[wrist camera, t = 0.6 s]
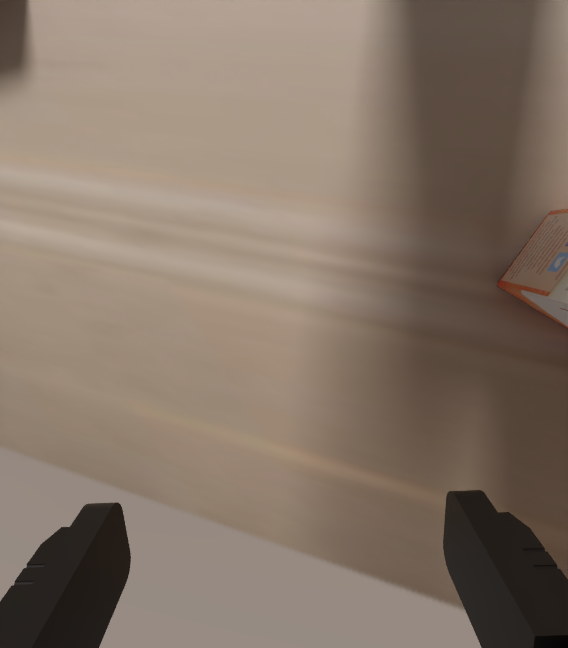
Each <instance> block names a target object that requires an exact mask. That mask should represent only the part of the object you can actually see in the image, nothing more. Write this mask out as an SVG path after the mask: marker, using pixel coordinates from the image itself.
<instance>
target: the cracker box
mask: <svg viewBox="0 0 568 648" xmlns="http://www.w3.org/2000/svg"><path fill="white" fill-rule="evenodd" d="M497 286H498V287H500V288H502V289H504V290H505V291H507V292H509V293H510V294H512V295H514V296H515V297H517V298H519V299H520V300H522V301H523V302H525V303H527V304H528V305H530V306H532V307H533V308H535V309H536V310H538V311H540V312H541V313H543V314H545V315H546V316H548V317H550V318H551V319H553V320H554V321H556V322H558V323H559V324H561V325H563V326H564V327H566V328H568V209H563V210H557V211H551V212H550V213H549V214H548V215H547V216H546V218H545V219H544V220H543V222H542V223H541V225H540V226H539V227H538V229H537V230H536V231H535V233H534V234H533V236H532V237H531V238H530V240H529V241H528V243H527V244H526V245H525V247H524V248H523V249H522V251H521V252H520V254H519V255H518V256H517V258H516V259H515V260H514V262H513V263H512V264H511V266H510V267H509V269H508V270H507V271H506V273H505V274H504V276H503V277H502V278H501V280H500V281H499V282H498V283H497Z"/></svg>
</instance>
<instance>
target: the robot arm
mask: <svg viewBox="0 0 568 648" xmlns="http://www.w3.org/2000/svg"><path fill="white" fill-rule="evenodd" d="M443 548H444V556H445V561H446V565H447V568H448V571H449V574H450V576H451V578H452V580H453V583H454V585H455V587H456V590H457V592H458V594H459V597H460V599H461V601H462V603H463V606H464V608H465V610H466V613H467V615H468V617H469V619H470V622H471V624H472V626H473V628H474V631H475V633H476V635H477V638H478V640H479V642H480V645H481V647H482V648H568V579H567V578H566V577H565V575H564V574H563V572H562V571H561V570H560V569H558V568H557V564H556V563H555V562H554V560H553V559H552V558H551V556H550V555H549V554H548V552H545V550H544V547H543V545H542V544H541V543H540V541H539V540H538V539H537V537H536V536H535V535H534V533H533V532H532V531H531V529H530V528H529V527H527V526H526V525H525V524H523V523H522V522H521V521H519V520H518V519H517V518H516V517H514V516H513V515H512V514H510V513H509V512H504V513H498V512H497V511H496V509H495V508H494V506H493V505H492V503H491V502H490V501H489V499H488V498H487V496H486V495H485V493H484V492H483V491H481V490H472V491H449V492H448V494H447V497H446V510H445V525H444V539H443ZM130 559H131V556H130V548H129V543H128V537H127V532H126V526H125V521H124V516H123V510H122V507H121V505H120V504H119V503H95V504H86V505H85V506H84V507H83V508H82V510H81V511H80V513H79V514H78V516H77V517H76V519H75V520H74V522H73V523H72V525H71V526H70V527H61V528H60V529H59V530H58V531H57V532H55V533H54V534H53V535H52V536H51V537H50V538H48V539H47V540H46V541H45V542H43V543H42V544H41V545H40V547H39V548H38V550H37V551H36V552H35V554H34V555H33V557H32V558H31V559H30V561H29V562H28V563H27V568H24V569H23V570H22V572H21V573H20V575H19V576H18V577H17V579H16V581H15V584H14V586H11V588H10V589H9V590H8V592H7V593H6V594H5V596H4V597H3V598H2V600H1V601H0V648H99V646H100V644H101V641H102V639H103V636H104V634H105V632H106V629H107V627H108V625H109V622H110V619H111V617H112V615H113V613H114V610H115V608H116V605H117V603H118V601H119V598H120V596H121V594H122V591H123V589H124V586H125V584H126V581H127V578H128V575H129V570H130V561H131V560H130Z"/></svg>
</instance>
